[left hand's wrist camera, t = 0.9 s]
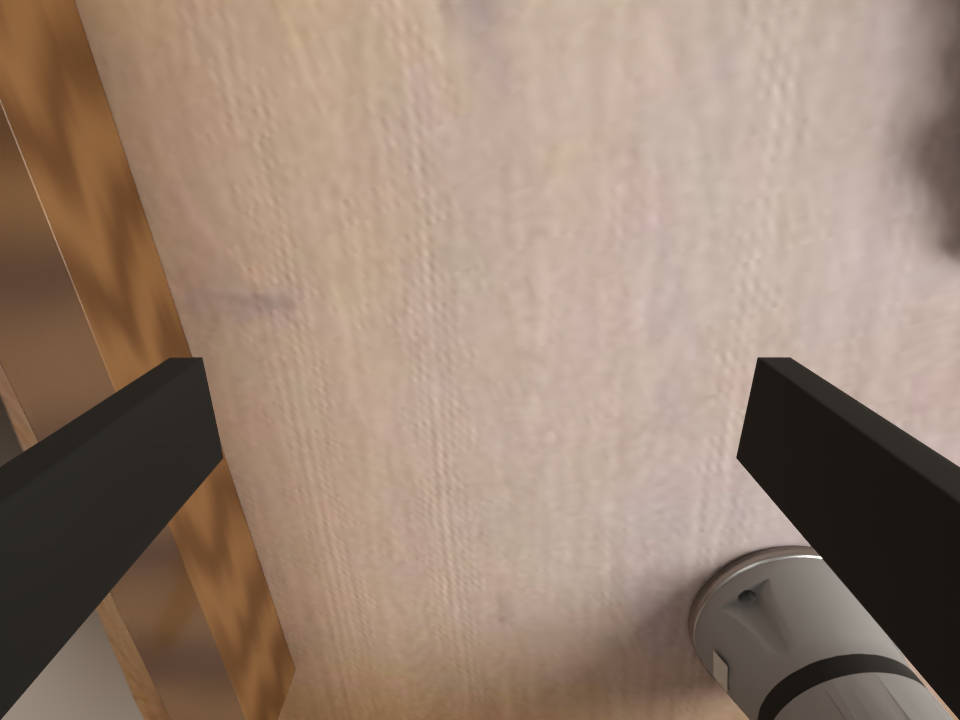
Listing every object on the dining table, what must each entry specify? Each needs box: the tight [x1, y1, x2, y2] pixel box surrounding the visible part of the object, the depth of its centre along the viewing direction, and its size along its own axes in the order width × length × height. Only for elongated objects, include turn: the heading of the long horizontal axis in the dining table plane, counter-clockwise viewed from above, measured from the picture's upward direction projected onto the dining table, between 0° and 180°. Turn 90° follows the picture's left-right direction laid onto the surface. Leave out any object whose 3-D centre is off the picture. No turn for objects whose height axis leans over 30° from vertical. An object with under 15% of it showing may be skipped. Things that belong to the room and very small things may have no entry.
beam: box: [0, 0, 295, 720], centre depth 34 cm, size 58×6×8 cm, turn 6°
